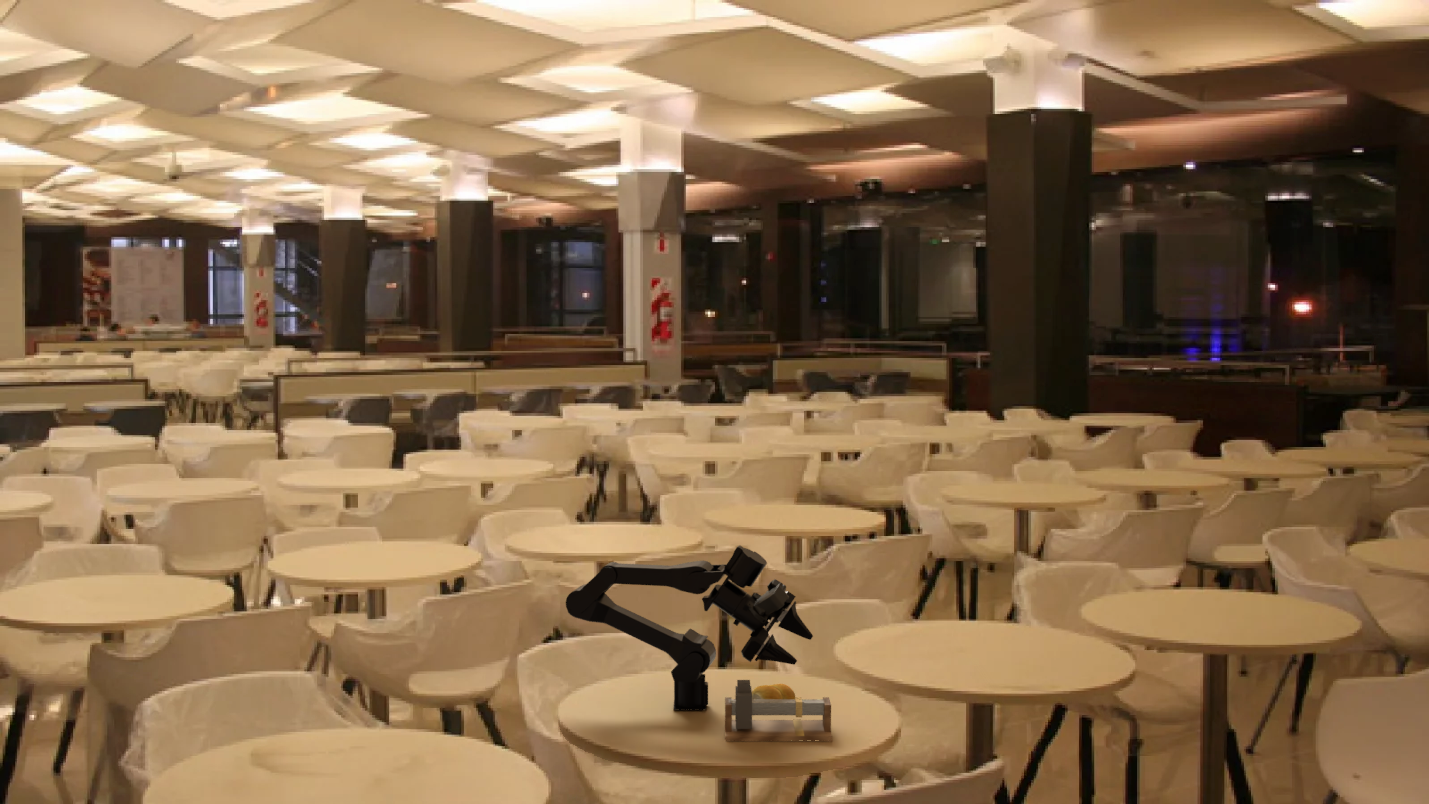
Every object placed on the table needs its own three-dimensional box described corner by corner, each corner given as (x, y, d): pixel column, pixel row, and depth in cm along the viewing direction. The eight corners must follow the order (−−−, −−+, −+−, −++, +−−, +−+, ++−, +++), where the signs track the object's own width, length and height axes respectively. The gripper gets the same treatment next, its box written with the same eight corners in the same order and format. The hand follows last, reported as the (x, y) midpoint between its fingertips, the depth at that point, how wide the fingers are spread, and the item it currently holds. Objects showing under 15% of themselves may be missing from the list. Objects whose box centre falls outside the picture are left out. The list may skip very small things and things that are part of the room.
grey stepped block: (736, 728, 274) (736, 686, 273) (735, 718, 280) (735, 677, 280) (751, 728, 274) (752, 686, 273) (750, 718, 280) (751, 677, 280)
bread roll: (802, 704, 297) (802, 685, 296) (766, 711, 292) (766, 692, 291) (779, 694, 303) (779, 675, 303) (743, 701, 299) (743, 682, 298)
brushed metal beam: (728, 717, 275) (728, 701, 275) (728, 712, 278) (728, 697, 278) (827, 717, 276) (827, 701, 275) (826, 712, 279) (826, 697, 278)
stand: (725, 741, 272) (725, 708, 272) (724, 724, 282) (725, 693, 282) (832, 741, 272) (832, 709, 272) (827, 724, 282) (827, 693, 282)
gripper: (738, 602, 278) (806, 649, 276) (773, 555, 294) (837, 599, 292) (714, 639, 284) (780, 685, 282) (750, 591, 300) (812, 635, 298)
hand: (804, 650), depth 288 cm, fingers open, 9 cm apart
